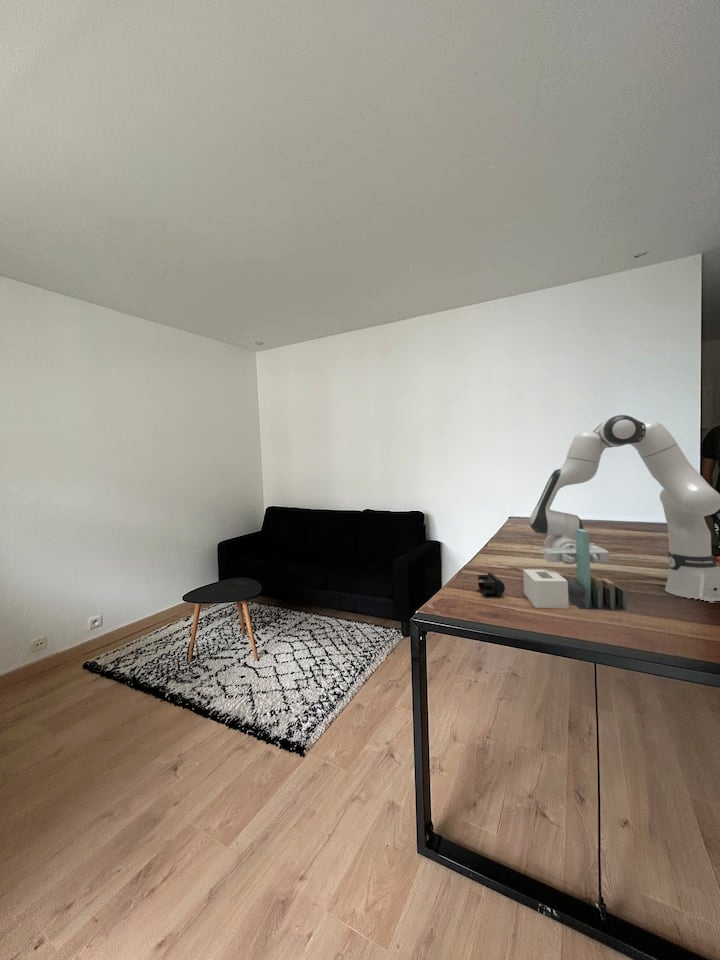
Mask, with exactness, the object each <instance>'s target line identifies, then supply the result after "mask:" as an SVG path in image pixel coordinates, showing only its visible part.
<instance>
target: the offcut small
mask: <svg viewBox="0 0 720 960" xmlns="http://www.w3.org/2000/svg"><path fill="white" fill-rule="evenodd" d="M600 579H601V580H603V584H604V585H606V586H608V587H609V588H611V589H612V590H614V605H615V584H616V583H615V582H613V581H611V579H610V580H609V578H606V577H600Z"/></svg>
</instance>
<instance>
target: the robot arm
mask: <svg viewBox="0 0 720 960" xmlns="http://www.w3.org/2000/svg"><path fill="white" fill-rule="evenodd" d="M625 445H630V446H632V447H634V449H635V450H636V451H637V453H638V455H639V457H640V458H641V460H642V462H643V463H644V465H645V466H646V468H647V470H648V472H649V474H650V475H651V477H652V478H653V479H655V481H657V482H658V484H659V485H660V486H661V487H662V490H661V491H660V494H659V500H660V502H661V504H662V507H663V512H664V517H665V520H666V524H667V530H668V548H669V549H668V552H667V564H668V574H667V581H666V584H665V587H664V591H665V592H667V593H668V594H672V595H674V596H678V597H681V598H685V597H686V599H691V598H694V599H693V600H697V599H700V600H699V601H701V600H704V601H703V602H705V601H709V602H708V603H715V602H714V601H720V566H719V565H718V564H719V563H720V556H715V555H713V554H712V533H711V530H710V529H709V526H708V525H707V522H706V520H705V517H707V516H711V515H714V514H715V513H717V512H718V511H719V510H720V493H719V492H718V491H717V490H715V489H714V488H713V487H712V486H711V485H710V484H709V483H708V481H707V480H705V478H704V477H703V476H702V475H701V474H700V473H699V472H698V470H697V469H696V468H695V467H694V466H693V465H692V464H691V462H690V461H689V460H688V459H687V457H686V455H685V453H684V452H683V450H682V449H681V447H680V446H679V444H678V442H677V441H676V440H675V437H674V436H673V435H672V434H671V432H669V430H668V429H667V428H666V427H665V426H664V425H663V424H662V423H660V422H659V421H655V420H650V421H645V422H642V421H639V420H638V419H636V418H634V417H632V416H629V415H625V414H619V415H615V416H611V417H609V418H606V419H605V420H604V421H603V422H601V423H600V424H598V426H597V427H596V428H595V429H594V430H593V431H590V430H589V431H587V430H586V431H582V432H581V431H580V432H579V433H577V434H575V436H574V438H573V439H572V441H571V444H570V447H569V448H568V452H567V454H566V455H567V456H566V458H565V461H564V463H563V465H561V467H560V468H559V469H555V470H554V471H553V472H552V473H551V475H550V477H549V479H548V481H547V482H546V485H545V487H544V489H543V491H542V493H541V496H540V498H539V500H538V502H537V503H536V506H535V508H534V509H533V511H532V513H531V514H530V518H529V523H528V525H529V526H530V528H531V529H532V530H533V531H534V533H536V534H543V535H547V536H546V537H545V539H544V546H545V548H543V550H542V551H540V552H539V554H540V555H542V556H543V559H544V560H545V561H546V562H548V563H563V564H567V565H576V564H577V560H576V531H575V529H583V530H584V525H583V522H582V520H581V518H580V517H579V516H578V515H577V514H572V513H567V512H562V511H556V510H552V509H551V506H552V504H553V502H554V500H555V497H556V496H557V494H558V492H559V490H560V489H562V488H563V487H566V486H572V485H579V484H583V483H586V482H589V481H590V480H592V479H593V478H594V477H595V476H596V474H597V471H598V469H599V466H600V462H601V457H602V454H603V452H605V449H608V448H609V449H610V448H617V447H622V446H625ZM589 552H590V563H592V564H593V563H594V564H598V563H607V562H609V561H610V552H609V551H608V550H606V549H605V548H603V547H600V546H598V545H596V544H595V543H594V542H589Z"/></svg>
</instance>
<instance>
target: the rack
mask: <svg viewBox="0 0 720 960" xmlns="http://www.w3.org/2000/svg"><path fill="white" fill-rule="evenodd" d="M567 579H568V580H567V581H568V601H569V602H571V604H573V605H574V606H575V607H577V609H579V610H594V611H595V610H603V611H605V610H606V611H635V609H634V608H632V607H631V606H630V605H628V602H627V601H628V600H627V599H628V598H627V590H626V589H625V588H623V587H621V586H619V585H618V584H617V583H615V605H614V590H612V589H611V588H609V587H608V586H606V585H604V584H603V605H602V602H601V590H600V589H599V588H597V587H596V586H594V585H593V584H591V604H589V590H588V589H587V588H585V587H584V586H582V585H581V584H580V583H578V582H577V579H575V578H573V577H571V576H569V577H568V578H567Z"/></svg>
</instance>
